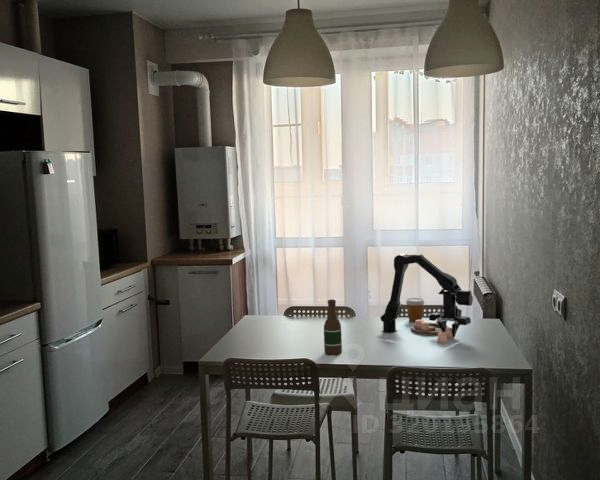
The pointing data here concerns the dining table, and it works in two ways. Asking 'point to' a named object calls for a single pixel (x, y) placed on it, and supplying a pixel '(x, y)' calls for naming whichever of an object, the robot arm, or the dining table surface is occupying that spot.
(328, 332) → the beer bottle
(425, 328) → the seated bead
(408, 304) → the beer glass
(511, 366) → the dining table surface
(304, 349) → the dining table surface
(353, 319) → the dining table surface
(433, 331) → the tray
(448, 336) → the bead
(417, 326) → the seated bead
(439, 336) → the bead
